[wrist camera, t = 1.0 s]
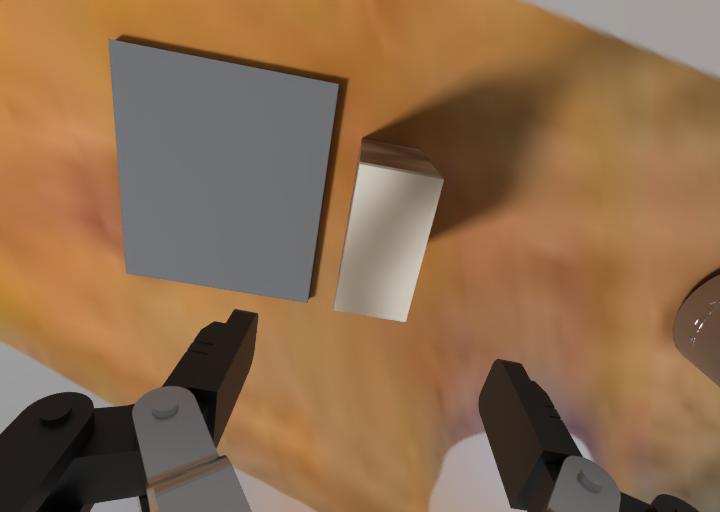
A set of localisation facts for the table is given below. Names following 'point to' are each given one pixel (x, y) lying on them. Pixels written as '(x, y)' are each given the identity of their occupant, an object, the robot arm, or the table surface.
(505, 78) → the table surface
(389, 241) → the slab
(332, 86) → the mat
